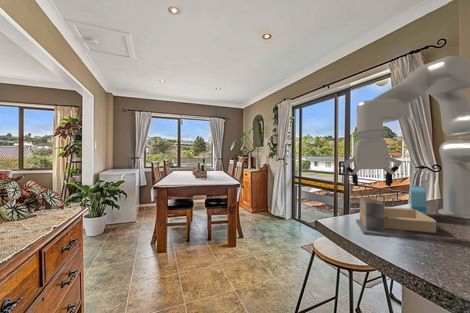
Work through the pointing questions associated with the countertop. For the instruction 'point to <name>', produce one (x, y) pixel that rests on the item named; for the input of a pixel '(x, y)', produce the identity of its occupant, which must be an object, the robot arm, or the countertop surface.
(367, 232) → the mat
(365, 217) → the walnut box
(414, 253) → the countertop surface
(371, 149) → the robot arm
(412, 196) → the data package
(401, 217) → the carton
